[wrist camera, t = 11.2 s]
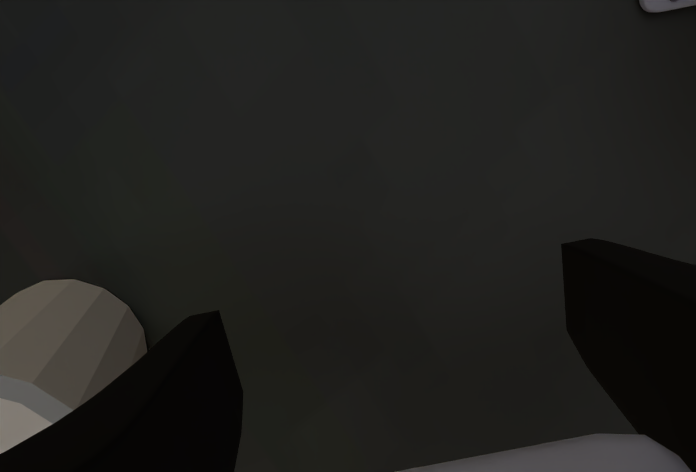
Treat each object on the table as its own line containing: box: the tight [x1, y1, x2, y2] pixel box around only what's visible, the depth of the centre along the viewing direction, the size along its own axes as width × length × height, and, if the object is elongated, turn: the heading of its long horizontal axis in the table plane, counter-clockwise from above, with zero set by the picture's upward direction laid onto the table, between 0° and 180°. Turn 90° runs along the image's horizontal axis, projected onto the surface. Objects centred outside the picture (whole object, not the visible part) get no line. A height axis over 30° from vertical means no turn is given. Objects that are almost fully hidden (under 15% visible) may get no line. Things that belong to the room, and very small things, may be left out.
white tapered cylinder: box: [0, 279, 147, 454], centre depth 20 cm, size 7×7×7 cm
